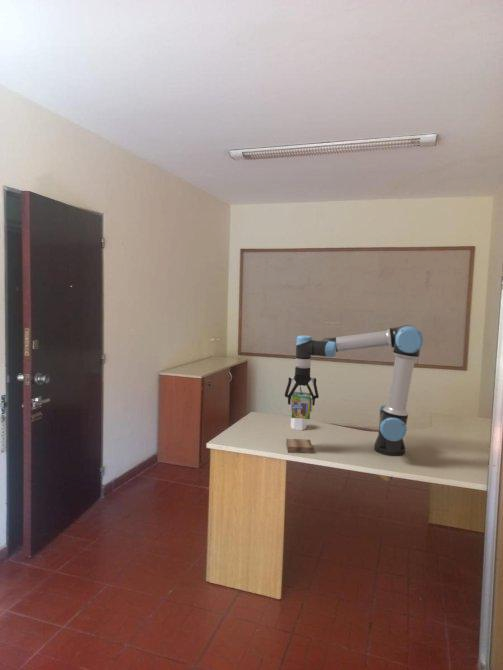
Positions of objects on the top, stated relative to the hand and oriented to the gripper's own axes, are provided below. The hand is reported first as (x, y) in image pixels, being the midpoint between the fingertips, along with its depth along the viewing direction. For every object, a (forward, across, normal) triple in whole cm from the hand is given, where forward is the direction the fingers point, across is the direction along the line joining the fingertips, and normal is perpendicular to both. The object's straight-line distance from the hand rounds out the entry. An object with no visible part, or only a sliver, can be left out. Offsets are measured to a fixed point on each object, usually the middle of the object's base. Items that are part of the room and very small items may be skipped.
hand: (300, 411), depth 229 cm
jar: (+20, -3, -35) cm, 40 cm away
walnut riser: (+19, 0, 0) cm, 19 cm away
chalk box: (+3, 0, 0) cm, 3 cm away
